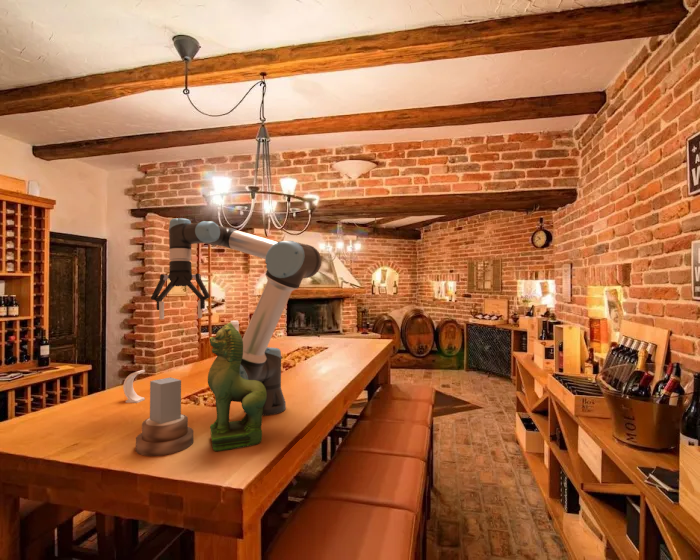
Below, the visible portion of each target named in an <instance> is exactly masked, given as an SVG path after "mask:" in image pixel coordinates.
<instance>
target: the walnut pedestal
mask: <svg viewBox="0 0 700 560" xmlns="http://www.w3.org/2000/svg"><path fill="white" fill-rule="evenodd" d="M193 443H194V429H193V428H192V427H191V426H189V416H188V415H186V414H182V413H181V418H180V419H177V420H173V421H170V422H166V423H162V424H159V423H157V422H154V421H152V420H150V417H149V418H146V419H145V420H143V421H142V422H141V432H140V433H138V435H137V436H136V437H135V452H136V453H137V454H138V455H141V456H145V457H146V456H147V457H159V456H166V455H173V454H175V453H178V452H181V451H184V450H185V449H188V448H189V447H190V446H192V444H193Z"/></svg>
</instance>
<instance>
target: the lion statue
mask: <svg viewBox="0 0 700 560" xmlns="http://www.w3.org/2000/svg"><path fill="white" fill-rule="evenodd" d="M242 339H243V337H242V334H241V333H240V331H239V332H238V331H237V330H236V329H235V328H234V326H233V325H232V323H230V322H228V323H226V324H224V325H223V326H222V327H221V328H220V329H219V330H217V332H216V333H215V336H210V337H209V343H210V346H211V347H212V348H211V352H212V354H214V355H216V357H215V359H214V360H213V362H212V364H211V365H210V368H209V370H208V373H207V374H208V375H207V384H208V387H209V390H211V392H212V393H213V395H214V399H215V409H216V410H215V411H216V420H215V421H214V422H213V423H211V424H210V428H209V429H210V437H211V439H210V440H211V444H212V445H211V446H212V450H213V451H214V452H220V451H223V452H224V451H230V450H234V449H239V448H240V449H242V448H247V447H248V448H249V447H251V446H255V445H258V444H260V443H261V442H262V438H263V430H262V423H263V416H262V412H263V406H264V404H265V401H266V397H267V392H266V388H265V386H264V385H263V384H262V383H261V382H260V381H257V380H246V379H243V378H242V377H241V376H240V373H239V372H240V364H241V361H242V358H243V340H242ZM231 402H235V403H236V402H237V403H241V407H242V410H243V412H244V411H245V412H246V413H245V412H244V413H245V415H244V417H243V418H242V419H241V420H234V421H233V420H232V421H230V410H231Z"/></svg>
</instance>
